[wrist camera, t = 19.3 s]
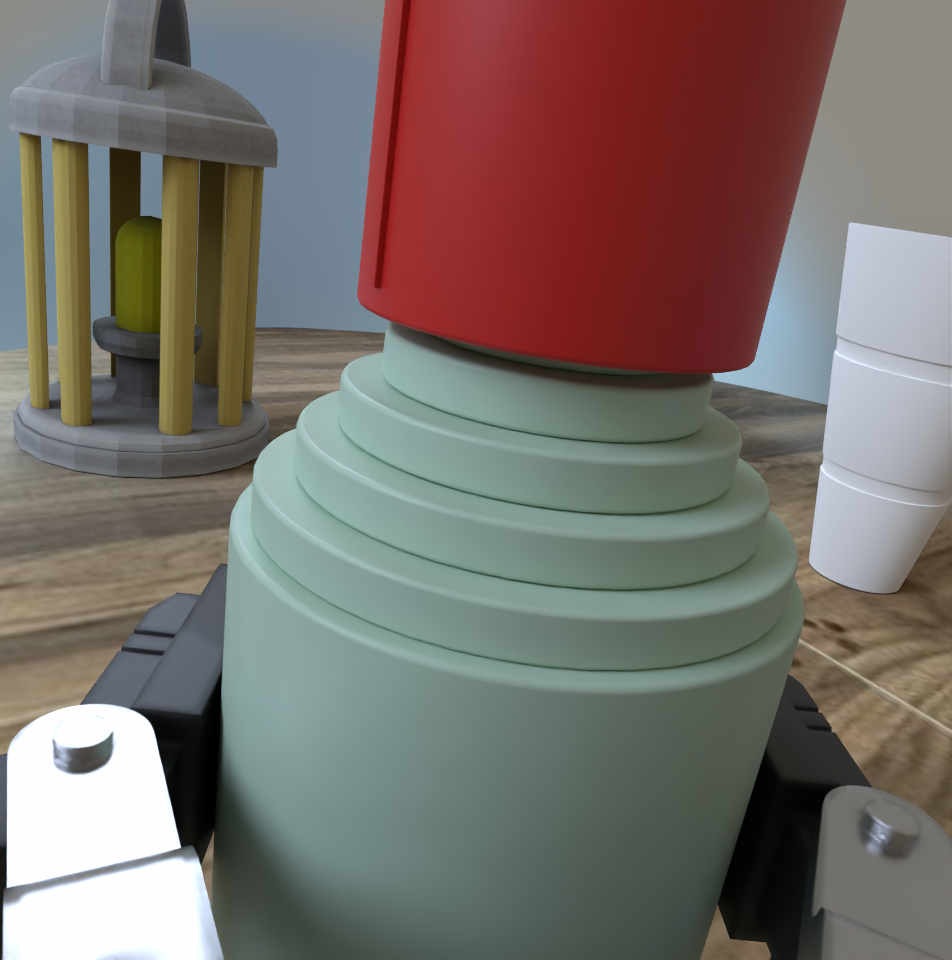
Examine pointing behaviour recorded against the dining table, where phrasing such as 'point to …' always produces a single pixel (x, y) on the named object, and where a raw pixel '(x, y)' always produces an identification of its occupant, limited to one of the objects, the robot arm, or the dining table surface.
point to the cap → (591, 173)
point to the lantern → (144, 256)
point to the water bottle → (495, 664)
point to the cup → (886, 410)
